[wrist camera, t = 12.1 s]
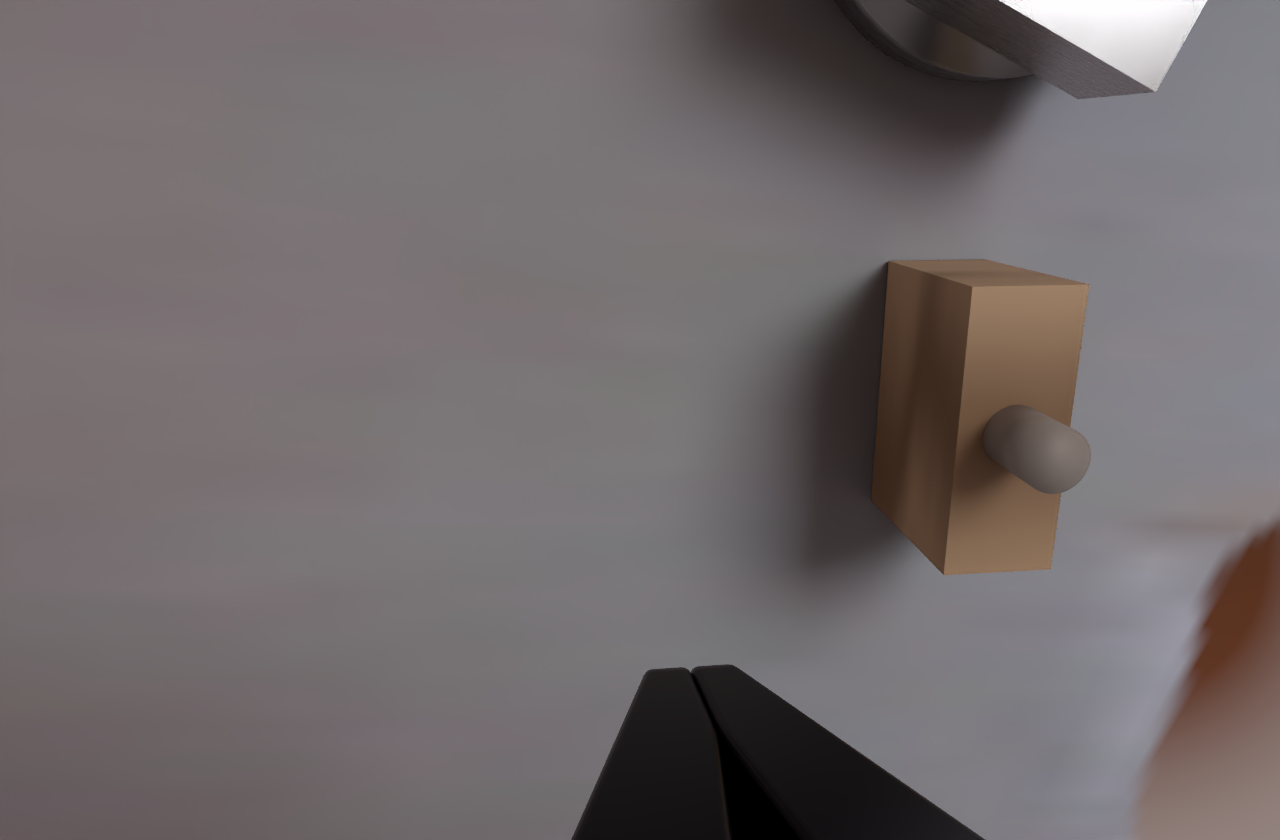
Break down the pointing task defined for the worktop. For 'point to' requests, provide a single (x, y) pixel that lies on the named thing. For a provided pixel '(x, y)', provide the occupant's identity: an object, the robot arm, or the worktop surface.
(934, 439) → the stand
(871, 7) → the hub
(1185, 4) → the square frame block
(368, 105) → the worktop surface
